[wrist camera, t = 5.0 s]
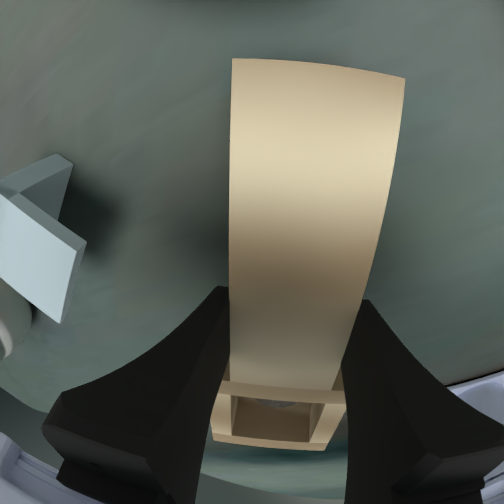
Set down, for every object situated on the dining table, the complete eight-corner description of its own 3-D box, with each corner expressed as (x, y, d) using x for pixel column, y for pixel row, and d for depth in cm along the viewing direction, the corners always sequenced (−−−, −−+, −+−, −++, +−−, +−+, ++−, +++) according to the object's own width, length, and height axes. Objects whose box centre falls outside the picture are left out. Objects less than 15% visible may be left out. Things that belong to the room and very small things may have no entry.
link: (323, 394, 18) (323, 450, 15) (225, 384, 19) (213, 440, 15) (394, 83, 9) (442, 88, 6) (224, 65, 10) (189, 59, 6)
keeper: (133, 202, 16) (76, 251, 11) (106, 268, 18) (59, 323, 13) (56, 153, 15) (-11, 184, 10) (39, 221, 17) (-15, 263, 12)
